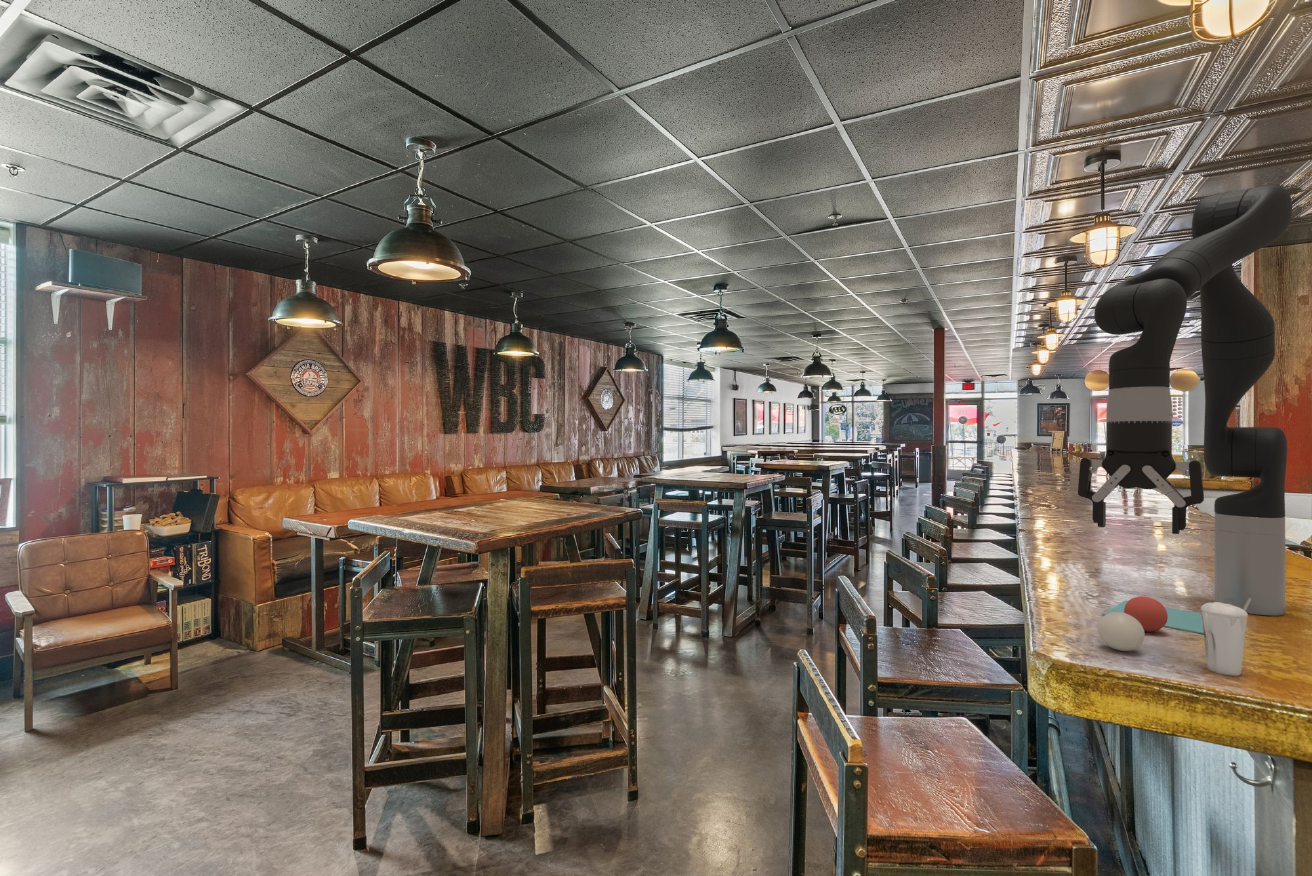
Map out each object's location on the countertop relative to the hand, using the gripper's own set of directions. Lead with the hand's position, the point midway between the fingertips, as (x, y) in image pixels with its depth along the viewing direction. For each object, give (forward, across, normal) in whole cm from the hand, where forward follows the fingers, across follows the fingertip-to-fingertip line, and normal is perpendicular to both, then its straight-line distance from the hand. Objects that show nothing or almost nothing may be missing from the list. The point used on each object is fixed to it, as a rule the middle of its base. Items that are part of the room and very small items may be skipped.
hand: (1137, 530), depth 88 cm
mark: (+18, +1, +25) cm, 31 cm away
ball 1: (+15, -2, -1) cm, 15 cm away
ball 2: (+15, 0, +13) cm, 20 cm away
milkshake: (+18, +10, -1) cm, 20 cm away
